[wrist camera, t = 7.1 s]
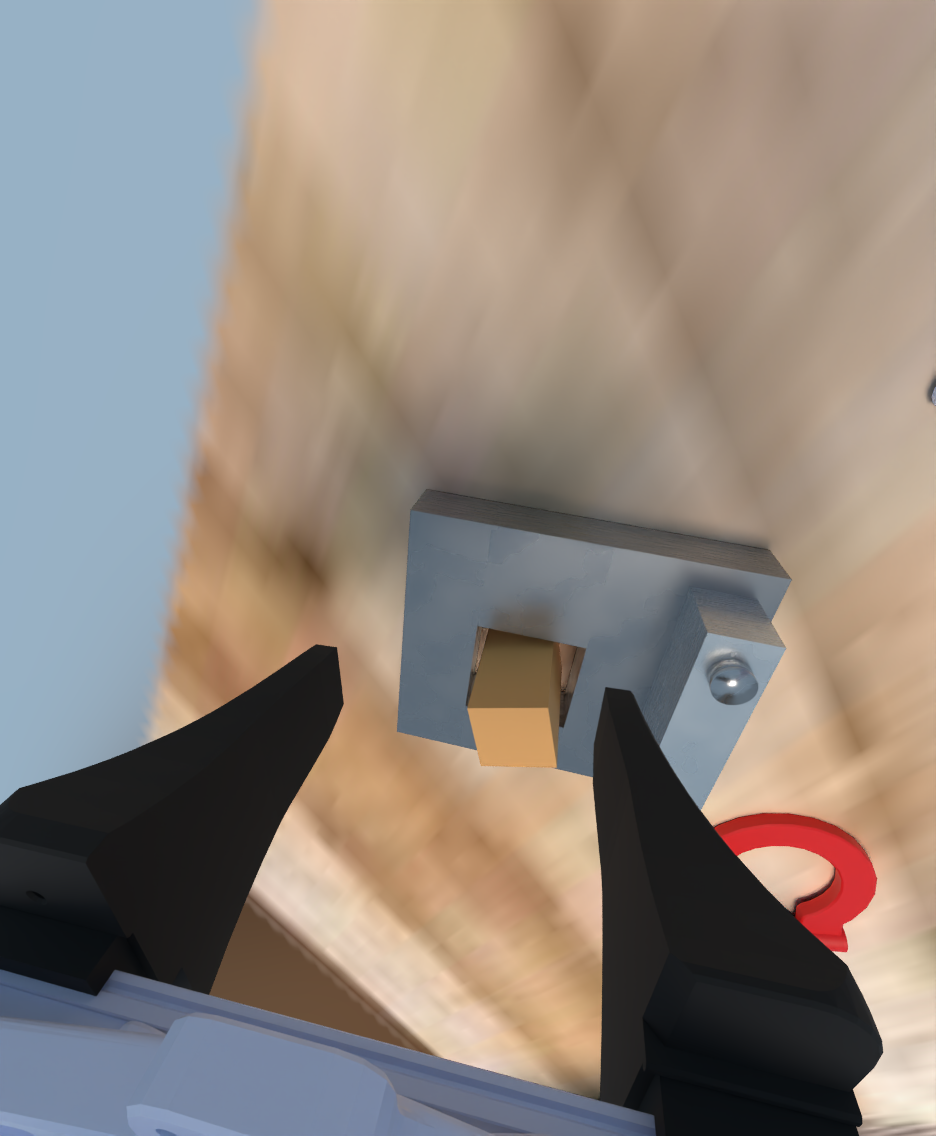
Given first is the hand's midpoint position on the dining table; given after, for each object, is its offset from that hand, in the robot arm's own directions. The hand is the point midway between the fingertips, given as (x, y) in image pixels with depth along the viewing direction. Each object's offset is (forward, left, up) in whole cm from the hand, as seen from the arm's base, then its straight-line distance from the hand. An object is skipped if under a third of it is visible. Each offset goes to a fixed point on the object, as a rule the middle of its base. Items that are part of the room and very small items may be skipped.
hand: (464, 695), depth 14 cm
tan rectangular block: (-2, +5, -10) cm, 11 cm away
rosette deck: (-3, +4, -10) cm, 11 cm away
